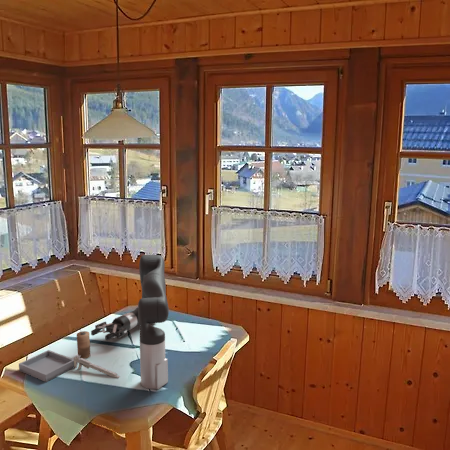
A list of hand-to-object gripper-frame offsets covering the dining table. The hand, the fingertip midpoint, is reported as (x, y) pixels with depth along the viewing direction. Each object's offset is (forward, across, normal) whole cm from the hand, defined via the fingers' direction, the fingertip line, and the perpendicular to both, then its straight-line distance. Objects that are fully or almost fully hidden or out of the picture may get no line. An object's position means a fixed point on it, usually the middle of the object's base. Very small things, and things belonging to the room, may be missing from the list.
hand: (98, 335), depth 204 cm
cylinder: (+8, 0, +6) cm, 10 cm away
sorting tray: (+24, -4, +6) cm, 25 cm away
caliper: (+15, +14, +6) cm, 22 cm away
